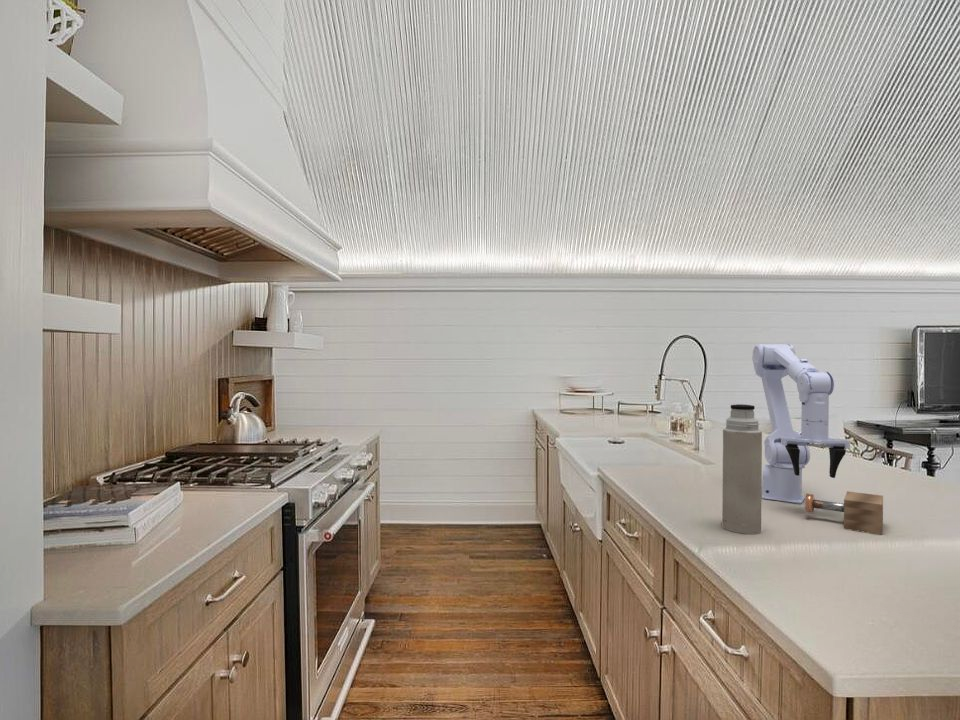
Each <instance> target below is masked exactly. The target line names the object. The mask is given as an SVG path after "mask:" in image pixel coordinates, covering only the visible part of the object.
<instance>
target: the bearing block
mask: <svg viewBox="0 0 960 720" xmlns="http://www.w3.org/2000/svg"><path fill="white" fill-rule="evenodd" d="M843 504H844V512H843V529H844V528H845V529H844V530H848V529H852V530H851V531H855V530H859V531H858V532H861V531H864V532H863V533H867V532H869V533H868V534H874V535H875V534H876V535H883V529H882V528H884V527H883V526H884V495H881V494H880V495H879V494H872V493H871V494H870V493H863V492H855V491H848V490H847V491H846V493H845V496H844V498H843Z"/></svg>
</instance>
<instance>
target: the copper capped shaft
mask: <svg viewBox="0 0 960 720" xmlns="http://www.w3.org/2000/svg"><path fill="white" fill-rule="evenodd" d="M804 501H805V503H804V505H805V508H804V509H805V513H810V514H813V513H814V512H815V509H818V510H819V509H820V510H824V511H832V512H840V513H844V502H843V503H841V502H834V501H827V500H820V499H815V494H814V493H806V494H805V499H804Z"/></svg>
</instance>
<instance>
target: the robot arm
mask: <svg viewBox="0 0 960 720" xmlns="http://www.w3.org/2000/svg"><path fill="white" fill-rule="evenodd" d="M752 363H753V368H754V371H755V375H756V376H758V377H760V379H761V382H762V387H763V391H764V396H765V400H766V404H767V405H766V406H767V411H768V414H769V420H770V424H771V429H772V432H771V433H770V434H768V435H767V436H766V437H765V439H764V441H763V443H764V457H765V461H766V462H767V463H768V464H764V465H763V468H762V498H761V499H765V500H772V501H778V502H785V503H792V504H799V505H800V504H803V502H804V501H805V500H806V495H805V496H804V495H803V494H802V493H803V469H805V467H806V465H808V464H809V462H810V459H811V451H810V448H809V447H819V448H820V447H821V448H828V451H829V453H828V454H829V472H828V473H829V477H830V478H831V479H835V478H836V475H837V471H838V468H839V466H840V463H841V462H842V459H843V458H844V457H845V455H846V453H847V450H846V449H848V450H850V449H851V440H849V439H843V438H842V439H841V438H840V439H839V438H829V421H830V420H829V418H830V417H829V411H830V410H829V409H830V408H829V406H830V401H829V399H830V397H829V396H831V394H833V392H834V389H835V380H834V377H833V375H832V374H831V372H830V371H819V369H817V368H816V366H814V365H812V364H811V362H809V360H808V359H807V358H800V359H799V357H798V356H797V355H796V350H795V347H794V346H793V344H791V343H786V344H784V343H783V344H779V343H777V344H776V343H775V344H774V343H773V344H768V343H766V344H763V343H756V345H755V346H754V347H753V350H752ZM787 376H788V377H790V379H792V380H793V381H794V382H795V383H796V387H797V391H798V397H799V398H798V399H799V402H801V422H800V425H801V426H800V429H801V430H800V431H801V433H799V432H797V431H795V430H794V429H793V424H792V420H791V416H790V412H789V407H788V403H787V399H786V395H785V390H784V386H783V385H784V384H783V381H782V379H783V378H784V377H787Z"/></svg>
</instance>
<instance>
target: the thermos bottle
mask: <svg viewBox="0 0 960 720" xmlns="http://www.w3.org/2000/svg"><path fill="white" fill-rule="evenodd" d="M755 409H756V408H755V405H751V404H738V403H737V404H731V405H730V416H729V417H728V418H726V420H725V421H726V422H725V426H726V427H723V429H722V502H721V503H722V507H721V508H722V511H721V513H722V516H721V517H722V519H721V520H722V521H721V522H722V523H721V524H722V528H723V529H724V530H727V531H729V532H732V533H736V534H737V533H738V534H743V535H745V534H746V535H755V534H759V533H761V532H762V499H763V498H762V476H763V468H762V466H763V462H762V461H763V458H762V457H763V455H762V454H763V449H762V448H763V431H762V429H761V430H760V429H759V425H760V423H759V420H758V419H757V418H756V417H755V411H754V410H755Z"/></svg>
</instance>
